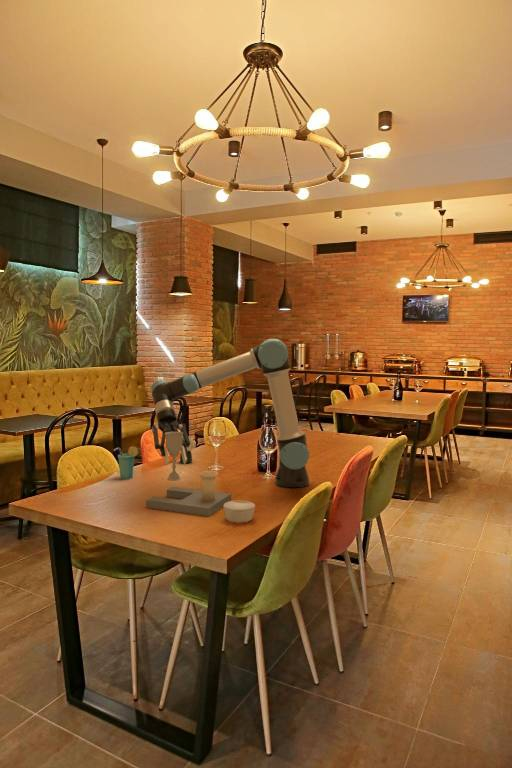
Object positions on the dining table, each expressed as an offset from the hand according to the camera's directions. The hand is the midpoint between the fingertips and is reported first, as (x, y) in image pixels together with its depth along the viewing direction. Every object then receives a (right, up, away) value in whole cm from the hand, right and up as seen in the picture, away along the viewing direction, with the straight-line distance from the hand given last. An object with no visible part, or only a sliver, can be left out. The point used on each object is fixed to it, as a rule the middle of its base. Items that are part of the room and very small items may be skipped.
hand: (176, 462), depth 208 cm
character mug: (-6, -11, +73) cm, 74 cm away
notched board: (+5, -17, +2) cm, 17 cm away
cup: (-29, -13, +40) cm, 51 cm away
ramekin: (+24, -18, -14) cm, 33 cm away
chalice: (-2, -7, +4) cm, 8 cm away
